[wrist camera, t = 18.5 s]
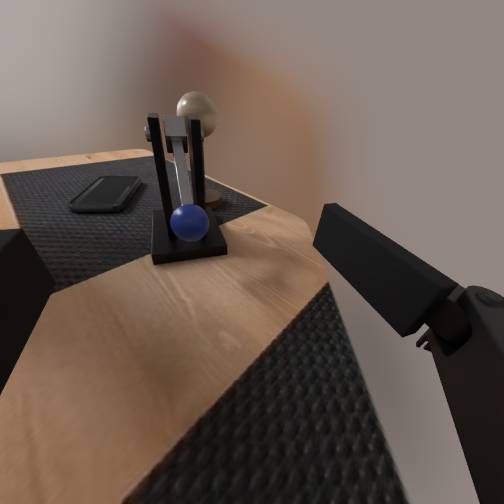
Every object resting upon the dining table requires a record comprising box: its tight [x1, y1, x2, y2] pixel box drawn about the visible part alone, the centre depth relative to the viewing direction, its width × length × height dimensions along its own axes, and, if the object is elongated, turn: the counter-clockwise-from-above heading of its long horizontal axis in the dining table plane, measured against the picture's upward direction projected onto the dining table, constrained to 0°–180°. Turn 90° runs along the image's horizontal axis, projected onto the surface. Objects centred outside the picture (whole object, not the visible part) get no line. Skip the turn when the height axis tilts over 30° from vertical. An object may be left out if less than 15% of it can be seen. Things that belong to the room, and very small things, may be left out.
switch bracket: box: [145, 113, 227, 265], centre depth 27 cm, size 12×9×15 cm
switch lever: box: [162, 116, 209, 242], centre depth 22 cm, size 14×4×4 cm
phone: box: [68, 176, 141, 213], centre depth 40 cm, size 8×1×15 cm
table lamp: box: [177, 92, 221, 210], centre depth 36 cm, size 7×7×17 cm
